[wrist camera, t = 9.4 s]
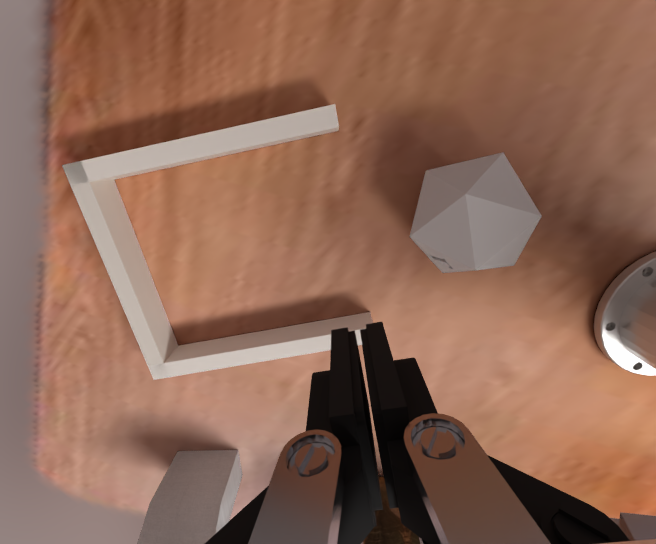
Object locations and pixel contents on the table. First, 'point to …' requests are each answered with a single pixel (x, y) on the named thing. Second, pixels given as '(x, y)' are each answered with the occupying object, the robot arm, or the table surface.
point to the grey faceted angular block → (193, 498)
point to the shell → (389, 524)
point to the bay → (131, 268)
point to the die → (473, 215)
